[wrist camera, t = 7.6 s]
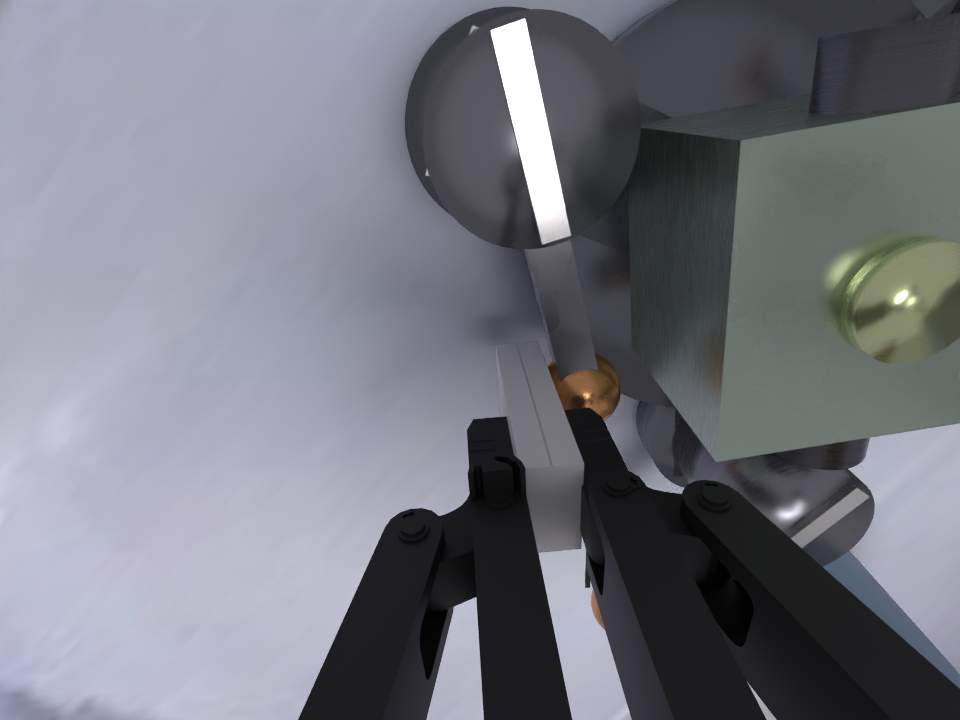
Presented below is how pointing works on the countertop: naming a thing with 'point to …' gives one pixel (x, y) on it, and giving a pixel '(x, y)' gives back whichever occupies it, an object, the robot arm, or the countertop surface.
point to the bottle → (887, 610)
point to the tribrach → (777, 225)
